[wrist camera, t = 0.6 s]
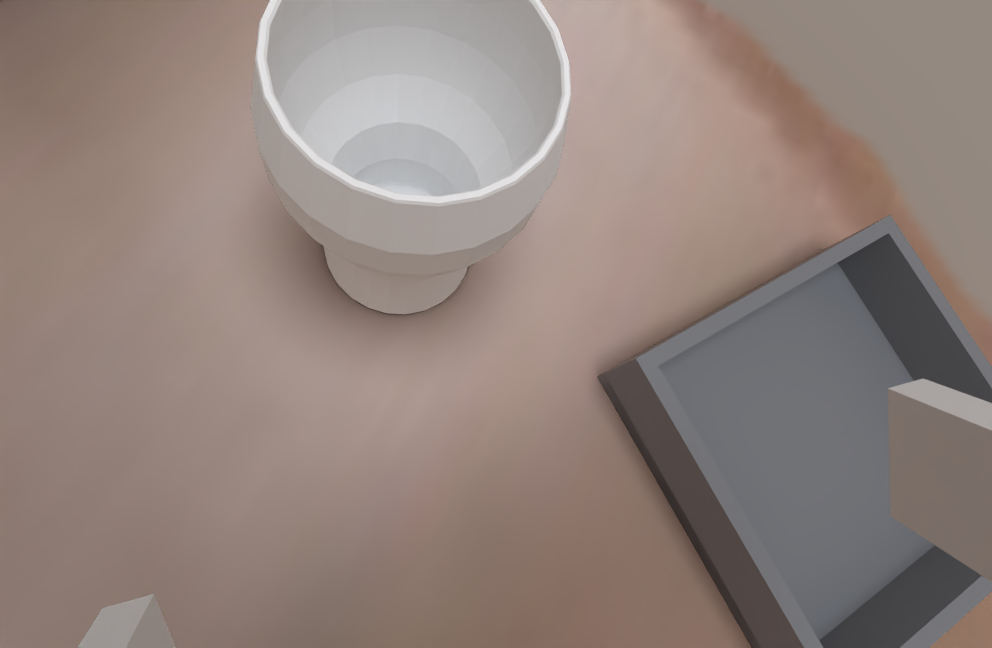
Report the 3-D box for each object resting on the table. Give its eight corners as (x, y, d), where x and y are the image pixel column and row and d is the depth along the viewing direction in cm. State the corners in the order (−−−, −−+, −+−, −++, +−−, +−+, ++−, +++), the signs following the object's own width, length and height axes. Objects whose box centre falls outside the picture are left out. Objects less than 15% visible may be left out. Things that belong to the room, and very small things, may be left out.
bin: (597, 376, 33) (635, 358, 28) (825, 248, 38) (890, 214, 33) (773, 684, 31) (846, 721, 26) (990, 504, 36) (1085, 507, 31)
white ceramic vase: (351, 124, 34) (337, -138, 20) (524, 206, 35) (631, 12, 20) (257, 289, 31) (159, 118, 16) (450, 374, 31) (518, 283, 17)
